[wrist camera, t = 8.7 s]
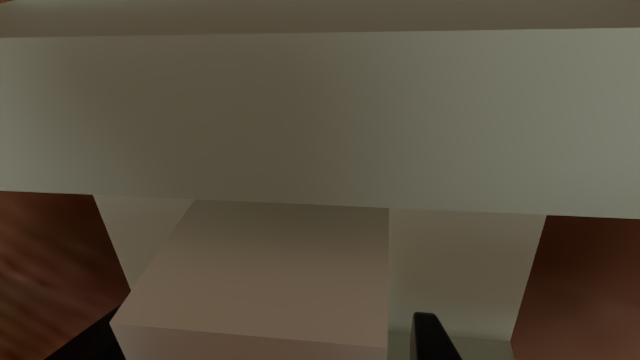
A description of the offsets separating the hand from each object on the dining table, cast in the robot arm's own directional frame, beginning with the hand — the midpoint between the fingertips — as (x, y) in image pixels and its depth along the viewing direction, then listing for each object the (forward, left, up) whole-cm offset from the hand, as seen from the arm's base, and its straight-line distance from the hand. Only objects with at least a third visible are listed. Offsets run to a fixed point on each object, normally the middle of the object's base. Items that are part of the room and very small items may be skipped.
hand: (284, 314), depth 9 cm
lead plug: (0, 0, -2) cm, 3 cm away
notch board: (0, 0, -4) cm, 4 cm away
